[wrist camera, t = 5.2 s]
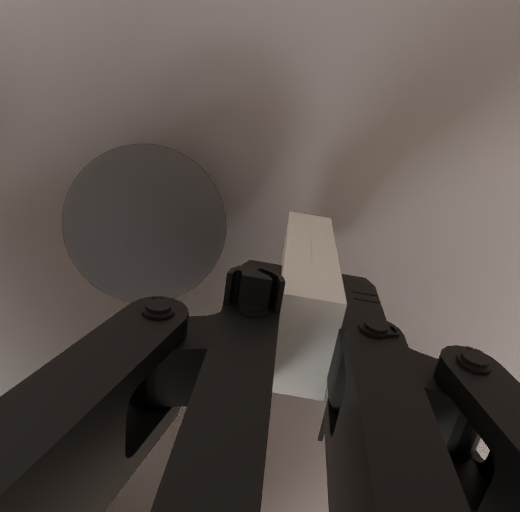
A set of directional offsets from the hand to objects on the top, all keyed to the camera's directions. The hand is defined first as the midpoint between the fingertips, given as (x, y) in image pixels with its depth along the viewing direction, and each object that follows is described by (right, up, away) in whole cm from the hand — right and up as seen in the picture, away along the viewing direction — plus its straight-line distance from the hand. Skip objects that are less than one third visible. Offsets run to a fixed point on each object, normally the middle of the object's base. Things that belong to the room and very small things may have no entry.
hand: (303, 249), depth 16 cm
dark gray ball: (-6, +1, -1) cm, 6 cm away
